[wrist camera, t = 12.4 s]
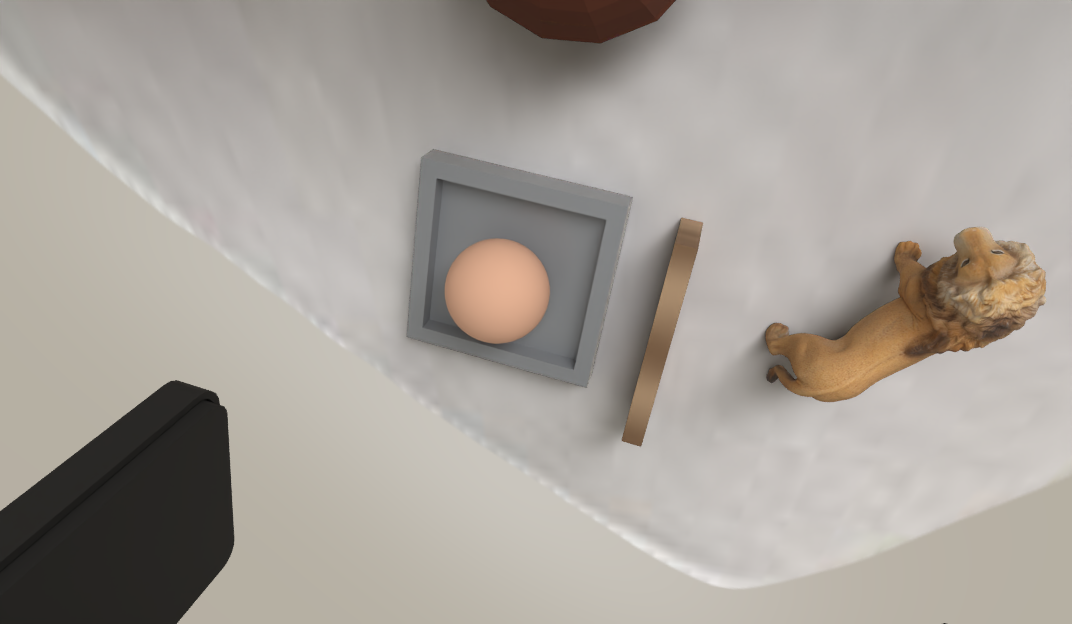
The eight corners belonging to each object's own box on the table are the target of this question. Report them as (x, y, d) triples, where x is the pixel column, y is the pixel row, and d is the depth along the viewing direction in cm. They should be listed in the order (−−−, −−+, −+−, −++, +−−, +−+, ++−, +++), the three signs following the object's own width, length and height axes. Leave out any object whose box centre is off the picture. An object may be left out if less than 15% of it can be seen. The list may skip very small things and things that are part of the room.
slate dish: (433, 149, 43) (421, 157, 42) (632, 197, 41) (628, 207, 40) (417, 324, 49) (406, 337, 48) (592, 373, 47) (586, 387, 46)
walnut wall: (681, 217, 41) (674, 243, 38) (702, 222, 41) (697, 248, 38) (631, 404, 48) (621, 440, 44) (649, 409, 47) (641, 446, 44)
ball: (472, 212, 44) (432, 250, 39) (569, 237, 43) (541, 279, 38) (462, 300, 47) (423, 345, 42) (552, 325, 46) (524, 375, 41)
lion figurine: (952, 168, 37) (1005, 230, 29) (1027, 237, 37) (1099, 317, 29) (737, 348, 44) (733, 437, 36) (802, 405, 44) (812, 503, 37)
